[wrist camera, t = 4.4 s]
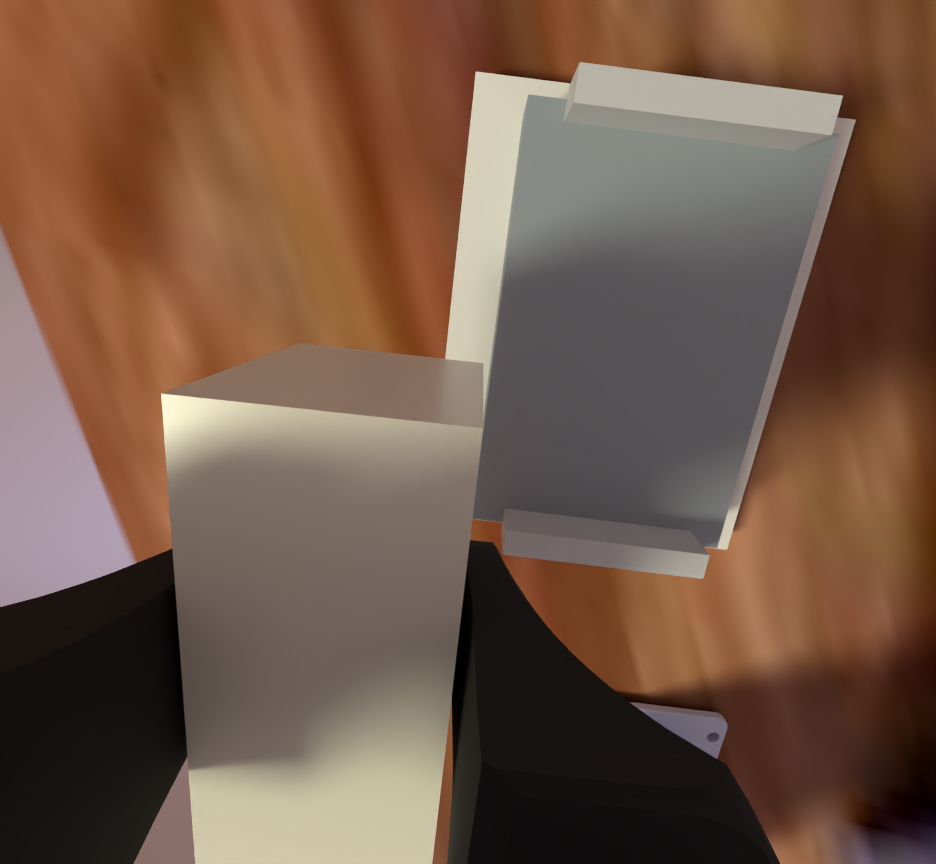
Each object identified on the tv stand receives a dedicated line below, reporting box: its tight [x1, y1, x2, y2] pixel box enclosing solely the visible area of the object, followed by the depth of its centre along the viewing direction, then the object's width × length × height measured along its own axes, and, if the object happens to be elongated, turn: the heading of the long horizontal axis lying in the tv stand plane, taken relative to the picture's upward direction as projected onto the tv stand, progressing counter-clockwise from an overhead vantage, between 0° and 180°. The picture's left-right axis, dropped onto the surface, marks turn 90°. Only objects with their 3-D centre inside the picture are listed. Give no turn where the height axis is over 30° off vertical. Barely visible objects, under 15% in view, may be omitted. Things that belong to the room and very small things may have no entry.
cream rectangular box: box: [161, 343, 483, 864], centre depth 10 cm, size 9×4×5 cm, turn 174°
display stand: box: [445, 62, 856, 579], centre depth 16 cm, size 14×11×4 cm
